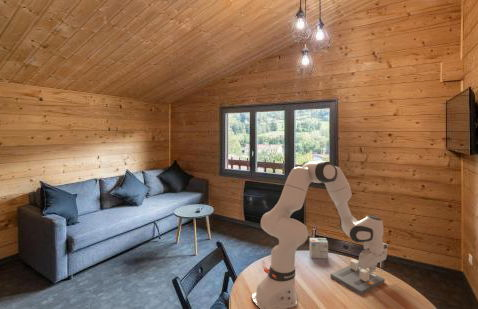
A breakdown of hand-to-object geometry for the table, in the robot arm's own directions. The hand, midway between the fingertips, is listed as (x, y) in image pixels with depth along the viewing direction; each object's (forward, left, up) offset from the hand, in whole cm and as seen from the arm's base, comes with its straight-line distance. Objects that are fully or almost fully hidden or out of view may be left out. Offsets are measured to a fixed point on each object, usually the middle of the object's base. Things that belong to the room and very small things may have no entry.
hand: (372, 271), depth 135 cm
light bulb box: (-4, +33, -5) cm, 33 cm away
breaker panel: (-7, +4, -4) cm, 9 cm away
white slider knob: (-2, +9, -2) cm, 9 cm away
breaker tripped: (-7, 0, -2) cm, 7 cm away
